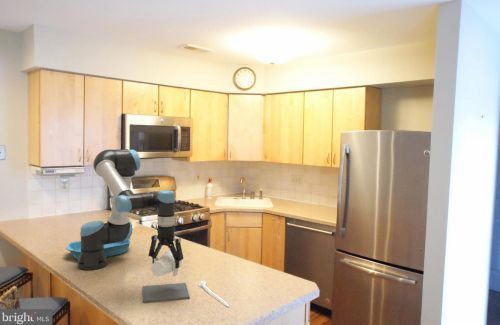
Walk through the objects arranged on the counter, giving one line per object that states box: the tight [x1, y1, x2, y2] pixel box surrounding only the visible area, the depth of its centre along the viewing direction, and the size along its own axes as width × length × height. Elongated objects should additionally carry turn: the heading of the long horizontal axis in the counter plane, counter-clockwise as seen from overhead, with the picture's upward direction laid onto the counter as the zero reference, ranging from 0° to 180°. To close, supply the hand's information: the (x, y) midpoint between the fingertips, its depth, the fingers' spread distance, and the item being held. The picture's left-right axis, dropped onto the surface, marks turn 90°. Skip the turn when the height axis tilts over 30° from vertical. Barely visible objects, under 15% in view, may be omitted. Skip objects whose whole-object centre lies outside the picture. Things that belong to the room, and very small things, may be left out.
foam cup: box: [150, 250, 183, 277], centre depth 174 cm, size 10×9×13 cm
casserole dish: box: [65, 238, 131, 261], centre depth 229 cm, size 37×22×7 cm, turn 131°
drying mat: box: [142, 282, 190, 304], centre depth 176 cm, size 20×16×1 cm
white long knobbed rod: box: [197, 280, 230, 308], centre depth 176 cm, size 28×4×3 cm, turn 35°
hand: (165, 273), depth 175 cm, fingers closed on foam cup, 9 cm apart
